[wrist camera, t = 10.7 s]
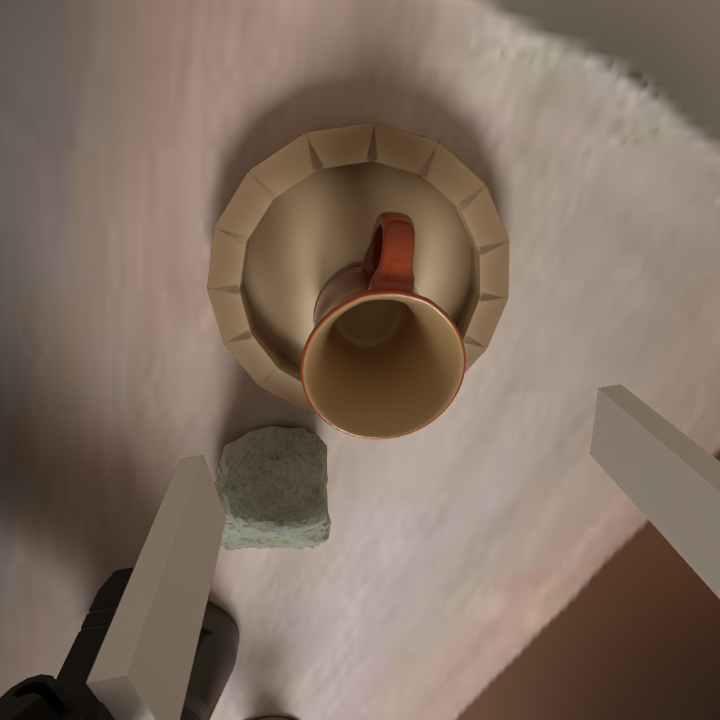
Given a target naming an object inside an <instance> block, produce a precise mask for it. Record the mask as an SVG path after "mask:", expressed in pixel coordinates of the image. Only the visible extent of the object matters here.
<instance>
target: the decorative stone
mask: <svg viewBox="0 0 720 720" xmlns="http://www.w3.org/2000/svg"><path fill="white" fill-rule="evenodd" d="M327 481H328V477H327V446H326V445H325V443H324V442H323V441H322V440H321V439H320V437H319V436H318V435H315V434H312V433H309V432H307V431H306V430H305V429H304V428H288V429H287V428H284V427H278V426H275V425H273V426H268V427H264V428H259V429H254V430H251V431H249V432H247V433H246V434H245V435H243V436H242V437H240V438H239V439H237V440H235V441H232V442H229V443H227V444H226V445H225V446H224V449H223V454H222V456H221V460H220V462H219V465H218V467H217V479H216V482H215V485H216V486H215V487H216V490H217V492H218V495H219V498H220V501H221V503H222V506H223V509H224V511H225V514H226V517H227V518H226V522H225V526H224V531H223V535H222V539H221V544H220V545H222V546H223V547H224V548H225V549H227V550H234V549H240V548H248V547H252V548H258V549H259V548H276V547H280V548H281V547H284V548H299V549H301V548H303V547H312V548H313V547H314V546H318V545H319V544H320V543H323V542H325V541H326V540H327V539H328V537H329V530H330V524H331V521H330V518H329V514H328V505H327V487H326V485H327Z"/></svg>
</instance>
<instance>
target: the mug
mask: <svg viewBox="0 0 720 720" xmlns="http://www.w3.org/2000/svg"><path fill="white" fill-rule="evenodd" d="M414 249H415V228H414V224H413V221H412V220H411V218H410V217H409V216H408V215H406V214H404V213H400V212H392V211H387V212H383V213H381V214H380V215H379V216H378V217H377V219H376V222H375V225H374V228H373V232H372V236H371V240H370V243H369V245H368V248H367V250H366V252H365V255H364V258H363V261H360V262H354V263H351V264H348V265H346V266H345V267H343V268H341V269H340V270H338V271H337V272H336V273H334V274H333V275H332V276H331V277H330V278H329V279H328V281H327V282H326V283H325V284H324V286H323V287H322V289H321V291H320V293H319V295H318V297H317V300H316V303H315V307H314V313H313V322H314V329H313V330H312V332H311V334H310V335H309V337H308V339H307V341H306V344H305V347H304V350H303V353H302V358H301V365H300V374H301V382H302V386H303V390H304V393H305V395H306V397H307V400H308V401H309V403H310V405H311V406H312V408H313V409H314V410H315V412H316V413H317V414H318V415H319V416H320V417H321V418H322V419H323V420H324V421H325V422H326V423H328V424H329V425H331V426H332V427H334V428H336V429H337V430H339V431H341V432H344V433H346V434H349V435H352V436H356V437H360V438H366V439H389V438H395V437H400V436H404V435H407V434H410V433H412V432H415V431H417V430H419V429H421V428H423V427H425V426H426V425H428V424H429V423H431V422H432V421H434V420H435V419H436V418H437V417H439V416H440V415H441V414H442V413H443V412H444V411H445V410H446V409H447V408H448V406H449V405H450V404H451V403H452V401H453V400H454V398H455V397H456V395H457V393H458V391H459V389H460V386H461V384H462V381H463V378H464V373H465V366H466V354H465V347H464V343H463V339H462V337H461V334H460V332H459V330H458V328H457V326H456V325H455V323H454V322H453V320H452V319H451V318H450V317H449V316H448V314H447V313H446V312H445V311H444V310H443V309H441V308H440V307H439V306H438V305H437V304H435V303H434V302H433V301H431V300H430V299H428V298H426V297H424V296H421V295H419V293H418V291H417V289H416V287H415V286H414V274H413V257H414Z"/></svg>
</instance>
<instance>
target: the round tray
mask: <svg viewBox="0 0 720 720" xmlns="http://www.w3.org/2000/svg"><path fill="white" fill-rule="evenodd" d="M306 133H307V135H306ZM306 133H304V134H303V135H301V136H300V137H298V138H297V139H295V140H294V141H292V142H291V143H289V144H288V145H286V146H285V147H283V148H282V149H280V150H279V151H277V152H276V153H274V154H273V155H271V156H270V157H269V158H267V159H266V160H264V161H263V162H261V163H260V164H258V165H257V166H255V167H254V168H252V169H251V170H249V171H248V172H247V174H246V176H245V177H244V179H243V181H242V182H241V184H240V186H239V187H238V189H237V191H236V192H235V194H234V196H233V197H232V199H231V201H230V202H229V204H228V206H227V207H226V209H225V210H224V212H223V214H222V215H221V217H220V219H219V220H218V222H217V224H216V225H215V228H214V234H213V242H212V251H211V259H210V268H209V276H208V285H207V288H208V289H207V290H208V294H209V297H210V300H211V303H212V307H213V310H214V313H215V316H216V320H217V323H218V326H219V330H220V333H221V336H222V339H223V343H224V345H225V346H226V347H227V348H228V349H229V351H230V352H231V353H232V354H233V355H234V357H235V358H236V359H237V360H238V362H239V363H240V364H241V365H242V366H243V368H244V369H245V370H246V371H247V373H248V374H249V375H250V376H251V377H252V379H253V380H254V381H255V382H256V383H257V385H259V386H260V387H261V388H263V389H265V390H267V391H269V392H270V393H272V394H274V395H276V396H277V397H279V398H281V399H283V400H285V401H286V402H288V403H290V404H292V405H293V406H295V407H297V408H299V409H300V410H302V411H304V410H305V412H310V413H316V412H315V410H314V409H313V408H312V406H311V405H310V403H309V401H308V400H307V397H306V395H305V393H304V390H303V386H302V382H301V374H300V365H301V358H302V353H303V350H304V347H305V344H306V341H307V339H308V337H309V335H310V334H311V332H312V330H313V329H314V322H313V313H314V307H315V303H316V300H317V297H318V295H319V293H320V291H321V289H322V287H323V286H324V284H325V283H326V282H327V281H328V279H329V278H330V277H331V276H332V275H333V274H334V273H336V272H337V271H338V270H340V269H341V268H343V267H345V266H346V265H348V264H351V263H354V262H360V261H363V258H364V255H365V252H366V250H367V248H368V245H369V243H370V240H371V236H372V232H373V228H374V225H375V222H376V219H377V217H378V216H379V215H380V214H381V213H383V212H387V211H392V212H400V213H404V214H406V215H408V216H409V217H410V218H411V220H412V221H413V224H414V228H415V249H414V257H413V274H414V286H415V287H416V289H417V291H418V293H419V295H421V296H424V297H426V298H428V299H430V300H431V301H433V302H434V303H435V304H437V305H438V306H439V307H440V308H441V309H443V310H444V311H445V312H446V313H447V314H448V316H449V317H450V318H451V319H452V320H453V322H454V323H455V325H456V326H457V328H458V330H459V332H460V334H461V337H462V339H463V343H464V347H465V354H466V366H465V372H466V371H467V370H468V369H469V368H470V367H471V365H472V364H473V363H474V362H475V361H476V360H477V359H478V358H479V357H480V356H481V355H482V354H483V353H484V351H485V350H486V348H488V345H489V343H490V341H491V338H492V336H493V333H494V331H495V329H496V326H497V324H498V322H499V319H500V317H501V314H502V312H503V310H504V307H505V305H506V302H507V300H508V289H509V239H508V236H507V234H506V231H505V229H504V227H503V224H502V222H501V219H500V217H499V215H498V212H497V210H496V207H495V205H494V202H493V200H492V198H491V195H490V193H489V190H488V188H487V186H486V184H485V183H484V182H482V181H481V180H480V179H479V178H478V177H477V176H476V175H475V174H474V173H473V172H472V171H470V170H469V169H468V168H467V167H466V166H465V165H464V164H463V163H462V162H461V161H460V160H458V159H457V158H456V157H455V156H454V155H453V154H452V153H451V152H450V151H449V150H448V149H447V148H445V147H444V146H443V145H442V144H441V143H440V142H438V141H435V140H432V139H429V138H425V137H422V136H419V135H415V134H412V133H409V132H406V131H402V130H399V129H396V128H392V127H389V126H386V125H383V124H379V123H376V122H371V123H365V124H358V125H352V126H345V127H339V128H332V129H325V130H319V131H312V132H306ZM316 414H317V413H316Z"/></svg>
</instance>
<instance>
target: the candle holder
mask: <svg viewBox="0 0 720 720" xmlns="http://www.w3.org/2000/svg"><path fill="white" fill-rule="evenodd" d="M256 720H291V719H287V718H282V717H266V718H260V719H256Z"/></svg>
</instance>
